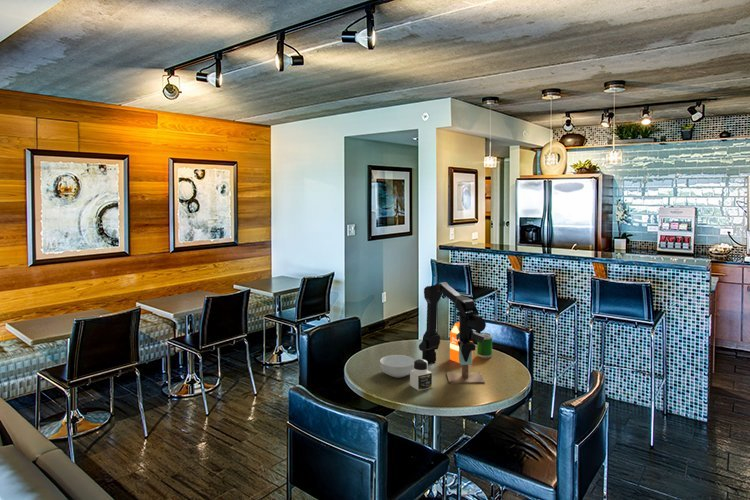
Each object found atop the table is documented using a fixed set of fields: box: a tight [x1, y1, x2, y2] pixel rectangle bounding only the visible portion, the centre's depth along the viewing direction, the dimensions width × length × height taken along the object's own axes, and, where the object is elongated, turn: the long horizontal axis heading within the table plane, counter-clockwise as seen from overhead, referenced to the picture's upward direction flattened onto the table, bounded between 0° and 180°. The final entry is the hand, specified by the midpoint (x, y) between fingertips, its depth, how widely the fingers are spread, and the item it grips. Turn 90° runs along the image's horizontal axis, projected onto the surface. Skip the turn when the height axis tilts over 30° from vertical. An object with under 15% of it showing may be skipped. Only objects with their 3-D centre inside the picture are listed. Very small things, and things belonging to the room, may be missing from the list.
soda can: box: [476, 332, 493, 359], centre depth 261 cm, size 8×8×12 cm
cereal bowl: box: [379, 354, 416, 379], centre depth 236 cm, size 17×17×7 cm
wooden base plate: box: [445, 365, 486, 385], centre depth 230 cm, size 16×12×7 cm
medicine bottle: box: [409, 358, 433, 392], centre depth 220 cm, size 7×7×12 cm
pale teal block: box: [458, 347, 473, 366], centre depth 229 cm, size 5×5×7 cm
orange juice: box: [449, 321, 474, 364], centre depth 256 cm, size 8×9×20 cm
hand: (465, 359), depth 229 cm, fingers closed on pale teal block, 5 cm apart
